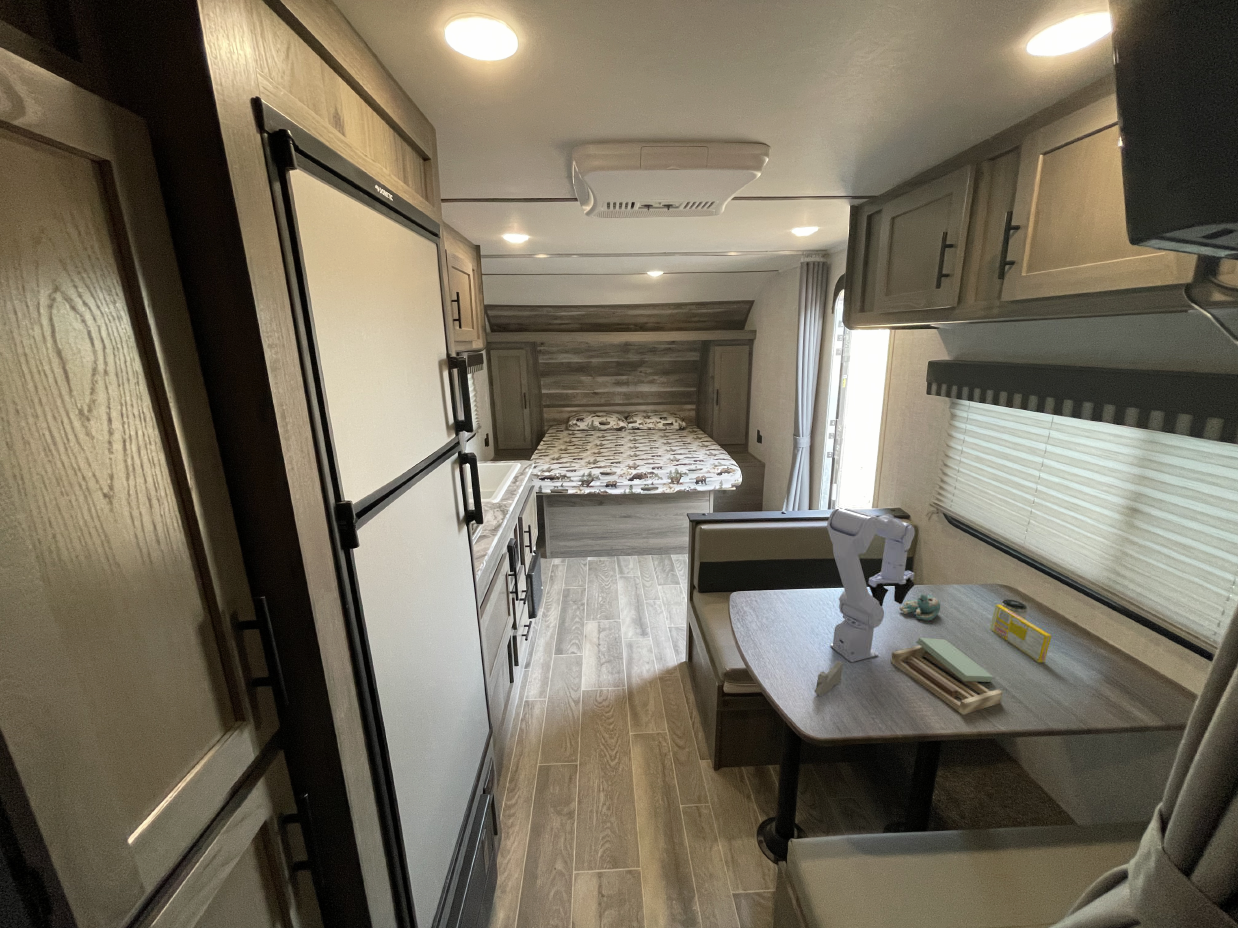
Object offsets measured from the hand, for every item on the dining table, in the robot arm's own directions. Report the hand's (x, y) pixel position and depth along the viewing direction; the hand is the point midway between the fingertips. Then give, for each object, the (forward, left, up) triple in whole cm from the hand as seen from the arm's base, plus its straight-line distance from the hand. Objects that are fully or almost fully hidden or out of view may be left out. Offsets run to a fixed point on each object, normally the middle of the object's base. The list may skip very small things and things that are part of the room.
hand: (887, 604), depth 140 cm
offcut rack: (-2, -21, -9) cm, 23 cm away
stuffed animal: (+20, +5, -10) cm, 23 cm away
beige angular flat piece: (-32, -14, -10) cm, 37 cm away
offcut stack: (-6, -21, -10) cm, 24 cm away
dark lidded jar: (+39, -9, -10) cm, 41 cm away
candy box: (+31, -16, -10) cm, 36 cm away
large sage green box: (+9, -18, -8) cm, 22 cm away
